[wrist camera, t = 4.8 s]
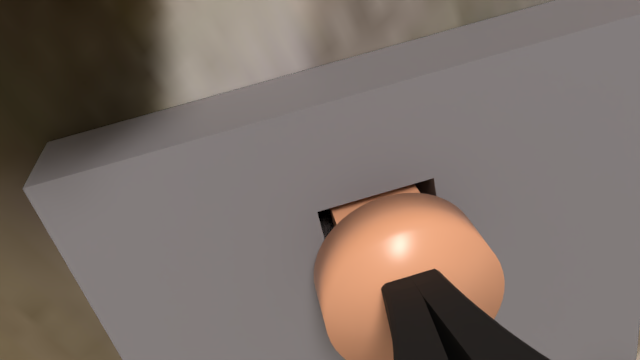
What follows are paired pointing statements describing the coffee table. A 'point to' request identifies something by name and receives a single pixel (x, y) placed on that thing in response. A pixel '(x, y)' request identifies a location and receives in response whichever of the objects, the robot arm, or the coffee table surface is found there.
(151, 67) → the coffee table surface
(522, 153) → the button panel
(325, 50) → the coffee table surface
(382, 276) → the terracotta button
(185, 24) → the coffee table surface
